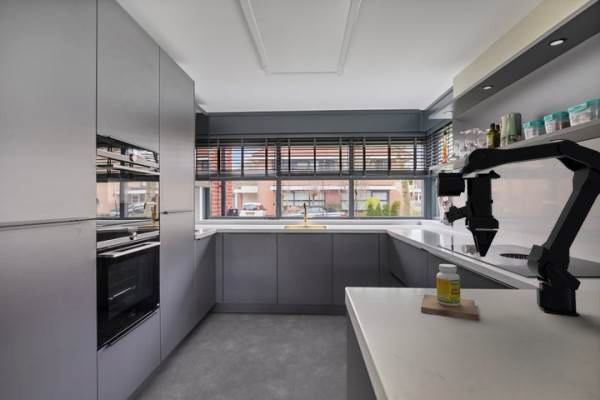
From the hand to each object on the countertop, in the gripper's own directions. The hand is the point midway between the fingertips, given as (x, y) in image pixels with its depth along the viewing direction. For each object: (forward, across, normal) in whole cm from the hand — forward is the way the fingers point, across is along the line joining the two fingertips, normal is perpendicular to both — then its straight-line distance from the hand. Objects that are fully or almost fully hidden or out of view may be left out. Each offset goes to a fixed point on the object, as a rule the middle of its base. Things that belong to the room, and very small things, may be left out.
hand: (480, 254), depth 77 cm
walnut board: (+13, +8, -8) cm, 17 cm away
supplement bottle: (+12, +8, -8) cm, 16 cm away
